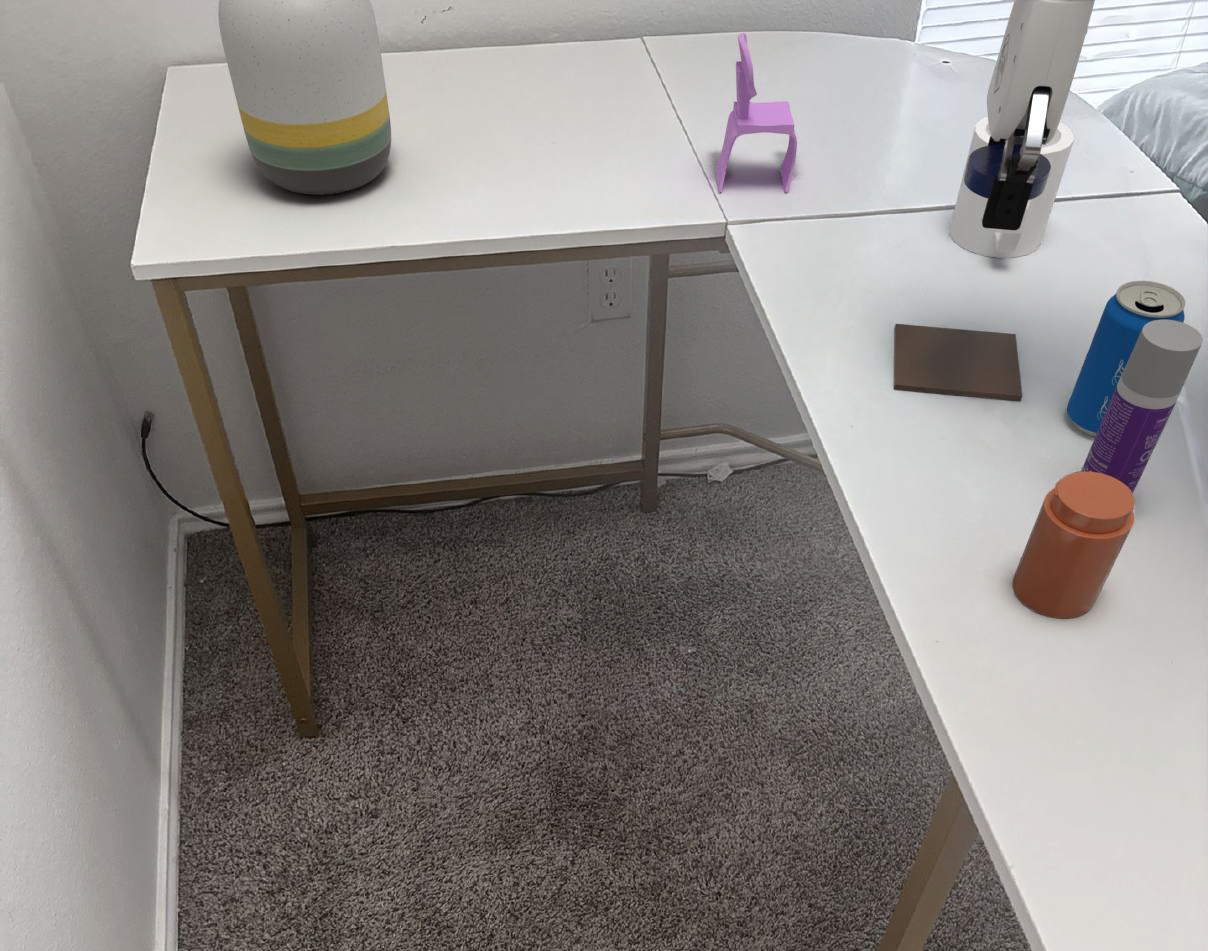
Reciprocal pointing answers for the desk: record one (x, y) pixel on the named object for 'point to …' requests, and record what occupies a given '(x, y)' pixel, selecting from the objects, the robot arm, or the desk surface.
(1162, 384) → the container
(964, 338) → the coaster
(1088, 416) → the beverage can
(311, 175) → the vase
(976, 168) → the jar lid
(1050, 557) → the jar
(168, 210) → the desk surface
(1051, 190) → the mug
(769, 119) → the toy chair
